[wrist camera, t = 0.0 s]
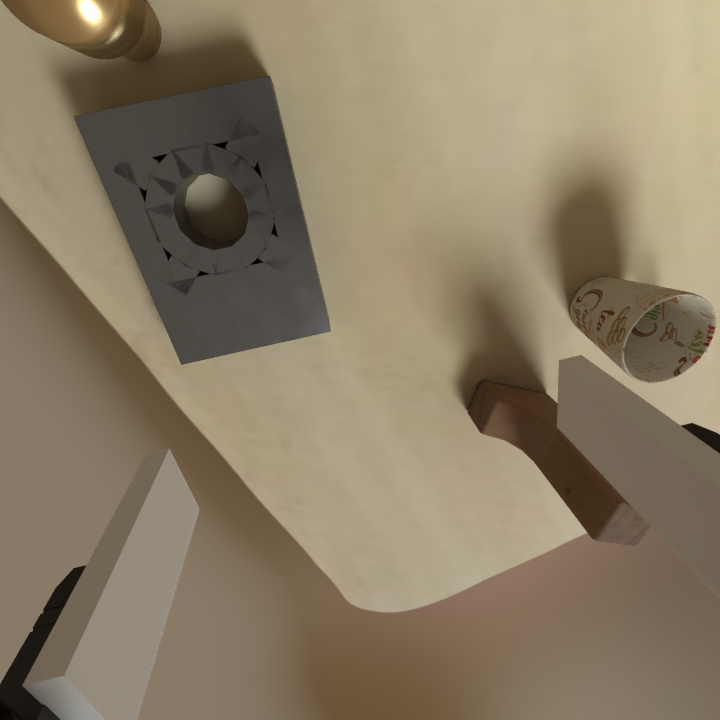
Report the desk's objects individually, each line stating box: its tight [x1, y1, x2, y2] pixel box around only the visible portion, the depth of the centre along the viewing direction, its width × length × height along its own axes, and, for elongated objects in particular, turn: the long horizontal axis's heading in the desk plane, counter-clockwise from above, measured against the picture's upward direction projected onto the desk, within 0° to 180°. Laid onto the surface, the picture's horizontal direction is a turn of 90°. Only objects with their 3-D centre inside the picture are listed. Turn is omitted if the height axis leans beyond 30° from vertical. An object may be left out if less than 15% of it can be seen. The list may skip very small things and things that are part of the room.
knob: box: [1, 0, 161, 62], centre depth 25 cm, size 6×6×11 cm
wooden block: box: [468, 381, 651, 546], centre depth 41 cm, size 9×4×18 cm, turn 74°
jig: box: [74, 76, 331, 365], centre depth 35 cm, size 20×14×4 cm
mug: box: [570, 277, 716, 383], centre depth 41 cm, size 8×13×10 cm, turn 73°
